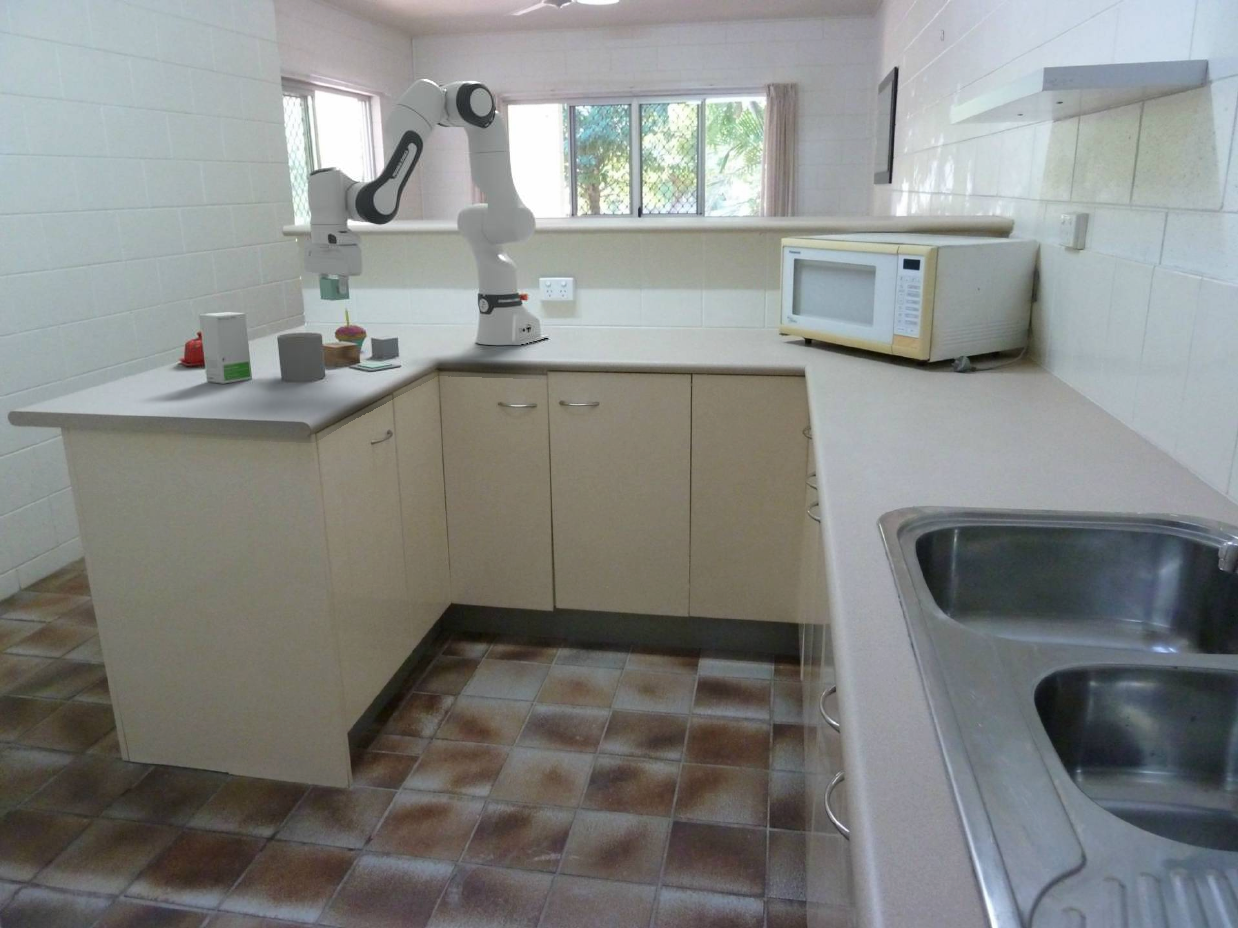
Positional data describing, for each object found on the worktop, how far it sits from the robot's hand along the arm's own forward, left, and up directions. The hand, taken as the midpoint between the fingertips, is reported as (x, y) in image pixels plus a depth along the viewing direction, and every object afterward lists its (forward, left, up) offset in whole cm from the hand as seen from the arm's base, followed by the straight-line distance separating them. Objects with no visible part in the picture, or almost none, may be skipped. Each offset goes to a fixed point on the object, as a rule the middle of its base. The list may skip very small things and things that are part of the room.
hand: (334, 292), depth 235 cm
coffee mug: (+16, +9, -18) cm, 26 cm away
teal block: (0, 0, -2) cm, 2 cm away
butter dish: (+23, -26, -18) cm, 39 cm away
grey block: (-14, 0, -18) cm, 23 cm away
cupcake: (-13, -14, -18) cm, 26 cm away
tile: (-2, +12, -18) cm, 22 cm away
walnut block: (0, 0, -18) cm, 18 cm away
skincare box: (+30, 0, -18) cm, 35 cm away
